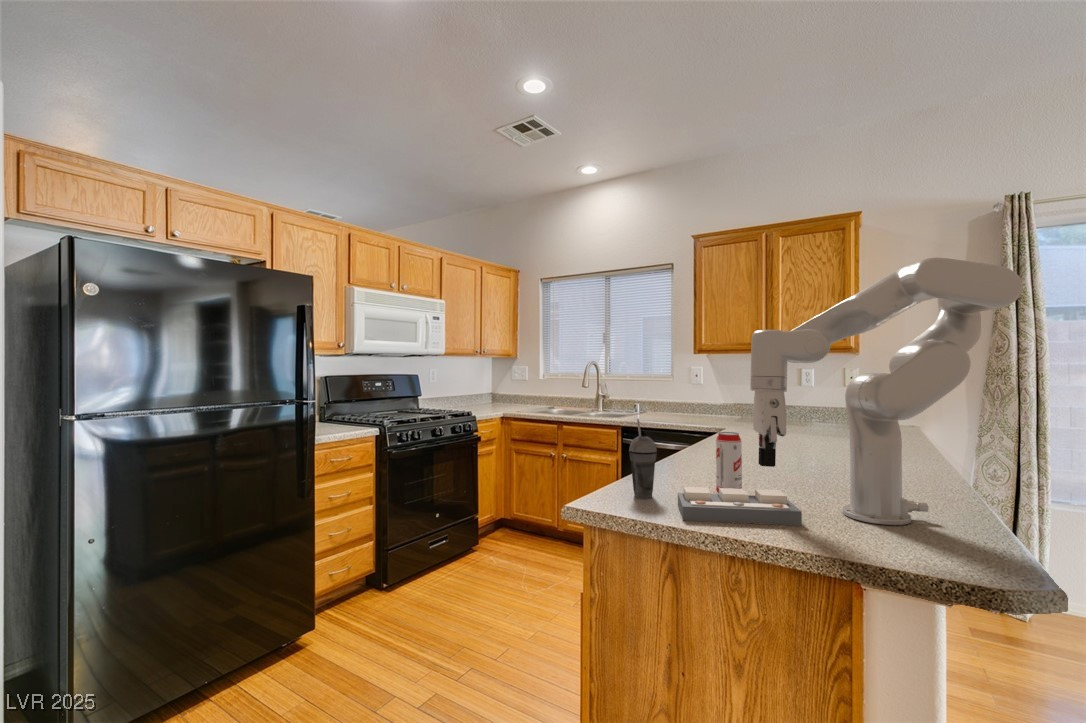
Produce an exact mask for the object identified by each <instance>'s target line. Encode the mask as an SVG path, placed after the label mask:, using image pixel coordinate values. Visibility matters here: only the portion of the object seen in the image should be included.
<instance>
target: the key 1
mask: <svg viewBox="0 0 1086 723" xmlns="http://www.w3.org/2000/svg"><path fill="white" fill-rule="evenodd" d="M683 493H684V499H685V501H709V502H711V494H712V493H711V491H710V489H709V487H704V486H702V487H701V486H699V487H697V486H683Z"/></svg>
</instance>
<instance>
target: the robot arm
mask: <svg viewBox="0 0 1086 723" xmlns="http://www.w3.org/2000/svg"><path fill="white" fill-rule="evenodd" d="M1022 291H1023V282H1022V279H1021V277H1020V276H1019V274H1018V273H1016V271H1014V270H1012V269H1010V268H1008V267H1005V266H1002V265H997V264H990V263H982V262H976V261H971V260H970V261H969V260H961V259H956V258H947V257H928V258H924V259H921V260H919V261H916V262H912V263H909V264H907V265H904V266H902V267H899V268H898V269H896V270H894V271H892V272H891V273H889V274H887V275H886V276H884V277H883V278H880V279H879V280H877V281H876V282H873V283H871V284H870V285H869V286H867V287H866V288H864V289H862V290H860V291H859V292H857V293H855V294H853V295H852V296H850V297H848V298H846V299H844V300H842V301H840V302H839V303H837V304H835V305H834V306H832V307H830V308H829V309H827V310H825V311H823V312H822V313H819V314H817V315H816V316H814V317H812V318H810V319H808V320H807V321H805V322H803V323H802V324H800V325H798V326H797V327H795V328H793V329H792V330H781V329H759V330H755V331H754V332H753V333H752V335H751V339H750V340H751V345H750V346H751V347H750V348H751V351H750V352H751V353H750V357H751V358H750V391H754V397H753V414H752V416H753V417H752V420H753V421H752V422H753V424H752V426H753V430H754V431H755V432H756V433H758V465H760V466H761V467H769V468H771V467H773V468H774V467H775V466H776V454H777V452H776V449H777V442H778V436H779V437H783V438H784V437H785V436H786V435H787V410H786V409H787V407H786V396H785V392H788V390H787V389H788V363H791V364H813V363H818V362H820V361H821V360H823V359H825V358H826V357H827V355H828V354H829V353H830V350H831V345H833V344H834V343H837V342H840V341H841V340H844V339H847V338H850V337H854V336H857V335H861V334H864V333H867V332H870V331H872V330H874V329H876V328H878V327H880V326H881V325H883V324H885V323H886V322H889V321H890V320H892V319H894V318H895V317H896V316H898V315H900V314H901V313H904V312H905V311H907V310H909V309H911V308H912V307H913V308H914V306H916V305H918V304H920V303H923V302H925V301H929V300H935V299H937V306H938V307H937V308H938V312H937V313H938V315H937V318H936V320H935V321H934V322H933V324H931V325H930V326H929V327H928V328H927V329H926V330H924V331H923V332H921V333H920V334H919V335H918V336H916V337H915V338H914V339H912V340H910V341H909V342H908V343H907V344H906V345H904V346H902V347H901V348H899V349H898V350H897V351H895V353H894V354H893V355H892V357H891V358H890V360H889V363H888V368H889V371H890V373H887V372H886V373H883V372H882V373H881V372H869V373H863V374H860V375H857V376H856V377H854V378H853V379H852V380H850V382H849V383H848V385H847V387H846V389H845V394H844V396H845V397H844V398H845V400H844V401H845V407H846V412H847V413H846V414H847V417H848V426H849V478H850V479H849V480H850V482H849V484H850V485H849V488H850V496H849V497H850V504H846V505H843V507H842V514H843V515H844V516H847V517H849V518H850V519H854V520H855V521H856V520H857V521H860V522H864V523H869V524H876V525H885V526H904V525H908V524H910V523H912V515H911V513H912V512H918V513H923V512H924V513H927V512H929V508H930V507H929V505H928V503H927V502H917V501H916V502H915V501H914V500H908V499H906V498H904V497H903V462H902V461H903V459H902V458H903V456H902V454H903V452H902V450H903V449H902V448H903V447H902V446H903V445H902V444H903V442H902V439H903V438H902V433H901V432H902V431H901V427H900V424H899V423H900V422H899V421H906V420H909V419H912V418H914V417H916V416H918V415H919V414H921V413H923V412H924V411H926V410H927V409H928V408H929V409H930V407H931V406H933V405H934V404H936V403H937V402H939V401H940V400H942V398H944V397H946V396H947V395H948V394H950V393H951V392H952V391H954V390H955V389H956V388H957V387H959V386H960V385H961V384H962V383H963V382H964V381H965V379H966V378H967V377H968V374H969V373H970V369H971V358H970V355H969V353H968V352H969V351H970V350H972V349H973V348H974V347H975V346H976V344H978V342H979V340H980V338H981V334H982V315H981V312H986V311H994V310H999V309H1003V308H1006V307H1008V306H1010V305H1011V304H1013V303H1015V302H1016V301H1017V300H1018V299H1020V298H1019V297H1020V296H1021V294H1022ZM909 513H910V514H909Z"/></svg>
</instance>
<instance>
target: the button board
mask: <svg viewBox="0 0 1086 723" xmlns="http://www.w3.org/2000/svg"><path fill="white" fill-rule="evenodd" d="M748 495H749V503H741V502H722V501H721V500H720V498H719V493H711V502H709V501H685V499H684V492H677V506H678V510H679V513H680V517H681V520H682V521H684V522H685V521H689V522H707V521H716V523H728V522H742V523H741V524H750V523H761V524H760V525H771V524H778V525H777V526H793V527H794V526H796V527H797V526H798V527H802V526H803V524H802V522H803V520H802V519H803V516H802V515H803V514H802V511H801V509H800V508H798V507H797V506H796V505H795V504H793V502H791V501H790V500H789V499H788V498H787V505H784V504H760V503H759V502H758V501H757V500H756V499H755V495H750V494H748ZM744 522H745V523H744ZM779 524H780V525H779Z"/></svg>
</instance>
